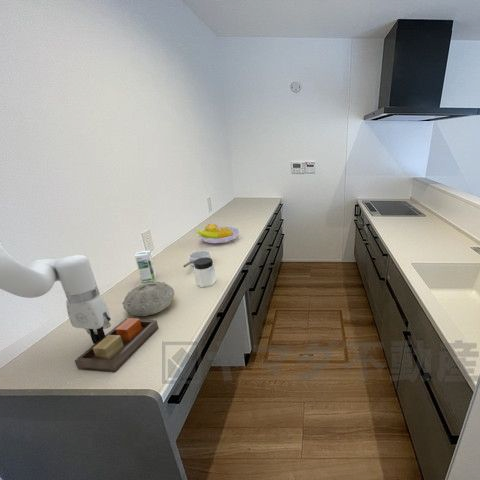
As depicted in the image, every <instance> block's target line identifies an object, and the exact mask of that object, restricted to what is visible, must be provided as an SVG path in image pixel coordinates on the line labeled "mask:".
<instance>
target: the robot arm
mask: <svg viewBox="0 0 480 480" xmlns="http://www.w3.org/2000/svg"><path fill="white" fill-rule="evenodd" d="M56 282H60V284H61V287H62V290H63V292H64V295H65V297H66V299H67V300H66V303H65V305H66V312H67V316H68V319H69V322H70V324H71V326H72V327H73V328H74V329H75V328H76V329H84V330H85V331H86V333H87V334H88V335H89V336H90V340H91V341H92V344H93V345H94V344H95V343H96V342H98V341H99V340H100V339H101V338H103V337H104V336H105V335H106V334H105V331H104V330H106V329H107V330H108V329H109V328H110V327H111V326H112V324H111V322H110V321H111V320H112V318H111V313H110V310H109V307H108V305H107V303H106V301H105V300H104V298H103V296H102V295H101V294H100V290H99V287H98V284H97V281H96V278H95V275H94V272H93V269H92V266H91V262H90V260H89V258H88V257H87V256H85V255H82V254H73V255H68V256H65V257H60V258H59V257H58V258H40V259H34V260H32V261H29V262H27V263H26V264H23V263H21V262H20V261H18V260H17V259H15V258H13V256H12V255H10V254H9V253H8V252H7V251H6V250H5V248H4V247H3V245H2V241H0V290H2V291H5V292H7V293H9V294H12V295H14V296H17V297H21V298H26V299H35V298H39V297H42V296H44V295H46V294H48V293H49V292H50V291H51V290H52V288H53V287H54V284H55V283H56Z"/></svg>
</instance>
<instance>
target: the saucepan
mask: <svg viewBox="0 0 480 480" xmlns="http://www.w3.org/2000/svg"><path fill="white" fill-rule="evenodd" d="M211 254H212V253H211V252H210V250H209V251H208V250H198V251H193V252H191V253H189V254H188V259H189V261H188V262H187V263H185V264H183V266H182V267H183V268H186V267H189V265H190V266H192V267H194V261H195V260H197V259H199V258H204V257H208V258H211Z"/></svg>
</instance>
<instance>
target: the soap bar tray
mask: <svg viewBox="0 0 480 480" xmlns="http://www.w3.org/2000/svg"><path fill="white" fill-rule="evenodd" d="M157 330H159V324H158V320H157V319H140V318H135V317H134V318H133V317H128V318H124V319H123V320H122V321H120V323H118V324H117V325H116V326H115V327H114V328H112V329H110V331H109V332H108V333H106V334H105V336H104V337H103V338H101V339H100V340H99V341H98V342H96V343H95V344H93V345H92V346H90V347H89V348H88V349H86V350H85V351H84V352H83V353H81V354H80V355H79V356H78V357H77V358H75V359H74V364H75V366H76V368H77V370H80V371H92V372H95V371H96V372H108V373H116V372H117V371H118V370H119V369H120V368H121V367H122V366H123V365H124V364H125V363H126V362H127V361H128V360H130V358H131V357H132V356H133V355H134V354H136V352H137V351H138V350H139V349H140V348H141V347H142V346H143V345H144V344H145V343H146V342H147V341H148V340H149V338H151V337H152V336H153V334H155V333H156V332H157Z"/></svg>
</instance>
